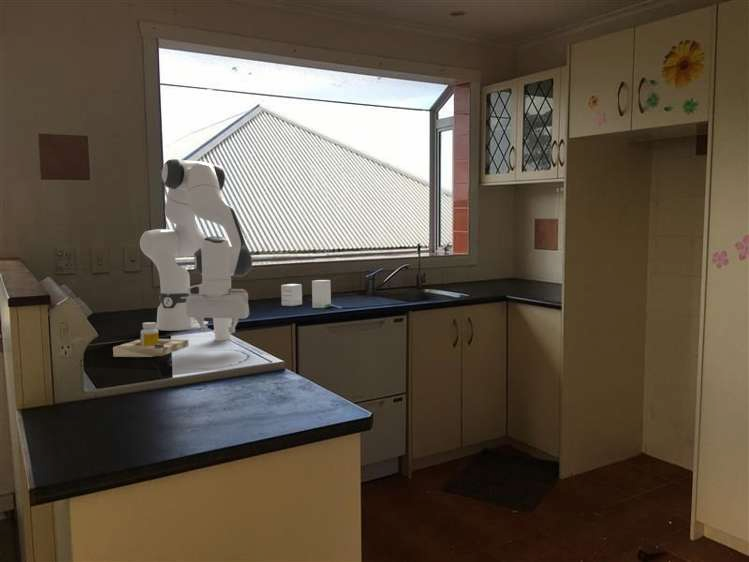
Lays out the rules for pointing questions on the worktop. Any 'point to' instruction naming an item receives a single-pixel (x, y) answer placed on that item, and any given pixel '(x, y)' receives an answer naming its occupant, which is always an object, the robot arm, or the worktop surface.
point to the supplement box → (291, 294)
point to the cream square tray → (149, 348)
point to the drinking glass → (222, 328)
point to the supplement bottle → (149, 334)
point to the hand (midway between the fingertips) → (218, 332)
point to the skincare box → (321, 293)
